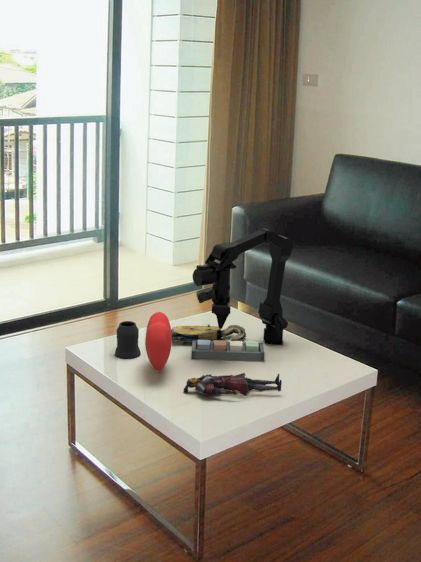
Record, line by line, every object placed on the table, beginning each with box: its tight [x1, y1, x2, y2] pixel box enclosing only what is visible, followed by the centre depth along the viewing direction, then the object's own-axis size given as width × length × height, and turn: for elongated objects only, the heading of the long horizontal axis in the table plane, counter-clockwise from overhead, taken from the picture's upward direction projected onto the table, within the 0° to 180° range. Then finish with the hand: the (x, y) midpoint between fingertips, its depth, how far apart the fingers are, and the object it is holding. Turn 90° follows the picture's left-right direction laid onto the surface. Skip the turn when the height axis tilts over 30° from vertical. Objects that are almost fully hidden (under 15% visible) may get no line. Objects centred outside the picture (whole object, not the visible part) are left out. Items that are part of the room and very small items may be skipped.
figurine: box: [183, 372, 283, 397], centre depth 230 cm, size 13×6×30 cm
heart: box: [144, 311, 173, 373], centre depth 241 cm, size 20×9×19 cm, turn 3°
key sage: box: [245, 341, 259, 352], centre depth 258 cm, size 4×4×2 cm
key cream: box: [229, 340, 243, 351], centre depth 258 cm, size 4×4×2 cm
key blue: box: [197, 340, 210, 350], centre depth 258 cm, size 4×4×2 cm
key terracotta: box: [214, 339, 227, 351], centre depth 258 cm, size 4×4×2 cm
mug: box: [114, 320, 142, 360], centre depth 257 cm, size 12×9×11 cm
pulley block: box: [171, 324, 247, 344], centre depth 272 cm, size 14×6×30 cm
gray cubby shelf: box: [190, 340, 266, 363], centre depth 259 cm, size 25×10×3 cm, turn 89°
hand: (220, 324), depth 256 cm, fingers open, 7 cm apart
